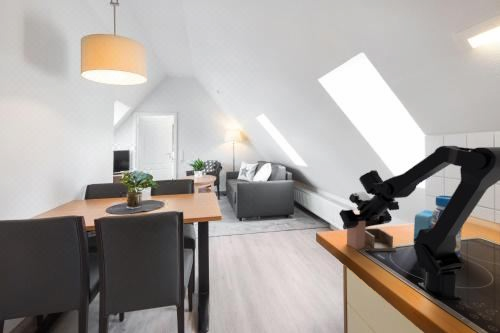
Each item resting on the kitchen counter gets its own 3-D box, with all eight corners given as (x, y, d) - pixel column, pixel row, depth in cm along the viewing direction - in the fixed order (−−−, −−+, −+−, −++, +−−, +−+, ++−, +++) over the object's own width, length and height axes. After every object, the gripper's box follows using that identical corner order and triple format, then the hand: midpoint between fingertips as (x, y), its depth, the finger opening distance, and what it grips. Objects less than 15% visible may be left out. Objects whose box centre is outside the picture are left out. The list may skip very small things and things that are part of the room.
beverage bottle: (433, 246, 93) (436, 193, 91) (462, 253, 87) (466, 197, 85) (427, 253, 87) (430, 197, 86) (457, 261, 81) (461, 201, 79)
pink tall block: (364, 247, 92) (365, 213, 91) (355, 249, 91) (356, 214, 90) (355, 242, 97) (356, 210, 96) (346, 244, 96) (347, 211, 95)
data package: (427, 249, 90) (428, 217, 89) (413, 245, 94) (414, 214, 93) (438, 241, 98) (439, 211, 97) (424, 238, 101) (426, 209, 100)
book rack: (396, 250, 89) (396, 237, 89) (371, 251, 89) (371, 237, 89) (380, 240, 99) (381, 228, 99) (358, 240, 99) (358, 228, 99)
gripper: (386, 184, 91) (363, 207, 102) (343, 187, 85) (324, 210, 97) (404, 211, 84) (377, 232, 95) (358, 216, 79) (336, 237, 90)
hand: (353, 227), depth 95 cm, fingers open, 9 cm apart
